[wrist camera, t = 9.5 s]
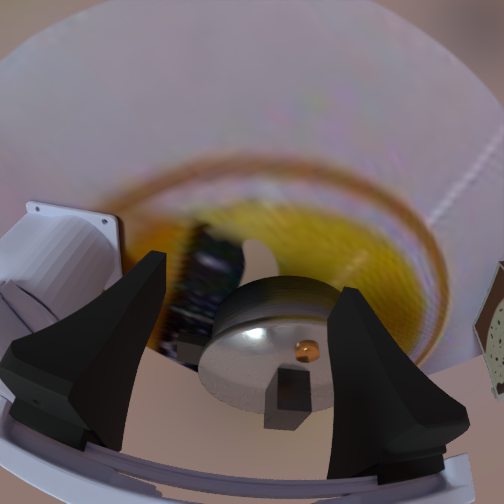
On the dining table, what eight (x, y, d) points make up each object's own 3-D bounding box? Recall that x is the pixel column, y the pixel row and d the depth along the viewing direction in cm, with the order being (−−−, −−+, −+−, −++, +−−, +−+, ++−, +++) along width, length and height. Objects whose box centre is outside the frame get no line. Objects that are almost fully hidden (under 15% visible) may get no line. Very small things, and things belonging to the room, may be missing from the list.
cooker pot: (185, 350, 31) (176, 390, 27) (192, 255, 23) (176, 302, 19) (344, 373, 32) (348, 410, 28) (400, 294, 24) (417, 337, 20)
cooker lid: (196, 394, 27) (188, 435, 23) (207, 298, 19) (194, 357, 15) (331, 410, 28) (334, 448, 24) (403, 327, 20) (419, 379, 16)
